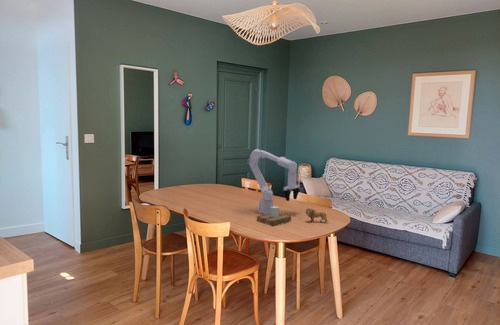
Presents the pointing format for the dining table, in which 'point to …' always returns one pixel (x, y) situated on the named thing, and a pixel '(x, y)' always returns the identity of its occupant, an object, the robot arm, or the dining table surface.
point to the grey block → (274, 211)
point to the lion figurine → (315, 215)
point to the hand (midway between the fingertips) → (291, 199)
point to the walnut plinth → (273, 219)
